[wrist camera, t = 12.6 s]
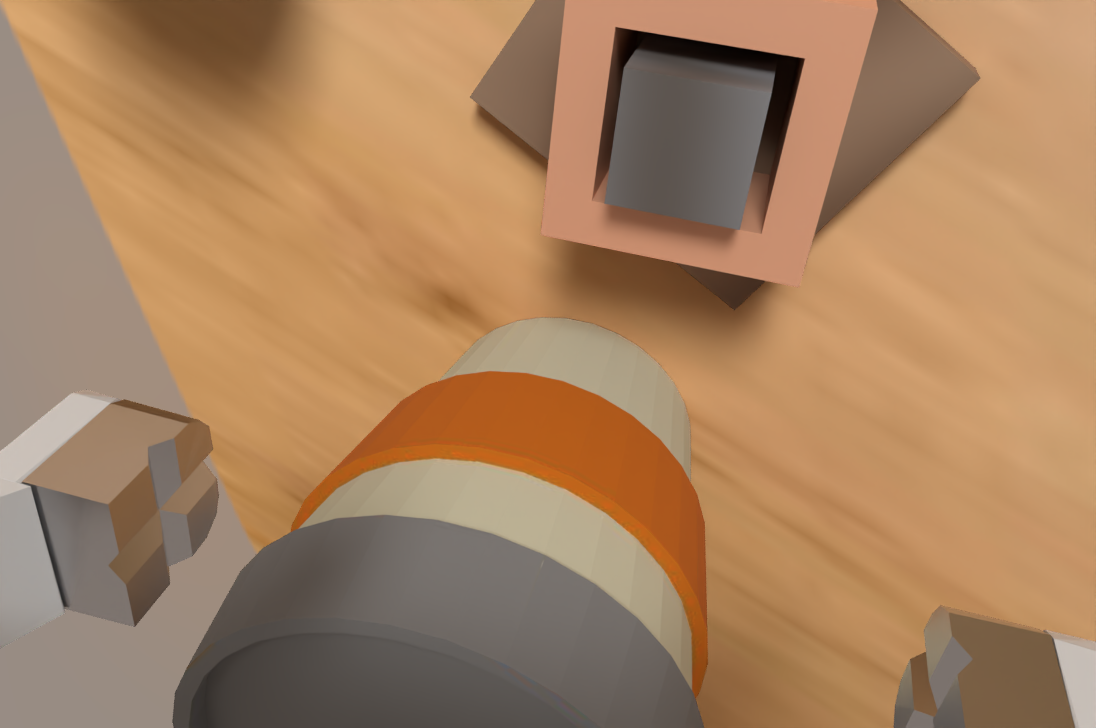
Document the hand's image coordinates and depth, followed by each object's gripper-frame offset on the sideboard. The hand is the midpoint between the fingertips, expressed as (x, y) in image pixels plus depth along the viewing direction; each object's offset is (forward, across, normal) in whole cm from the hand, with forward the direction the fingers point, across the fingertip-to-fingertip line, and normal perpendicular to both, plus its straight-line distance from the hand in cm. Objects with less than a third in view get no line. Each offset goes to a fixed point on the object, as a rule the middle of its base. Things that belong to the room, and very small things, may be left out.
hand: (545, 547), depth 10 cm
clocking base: (+19, 0, 0) cm, 19 cm away
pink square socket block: (+18, 0, 0) cm, 18 cm away
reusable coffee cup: (+19, +3, +13) cm, 23 cm away
